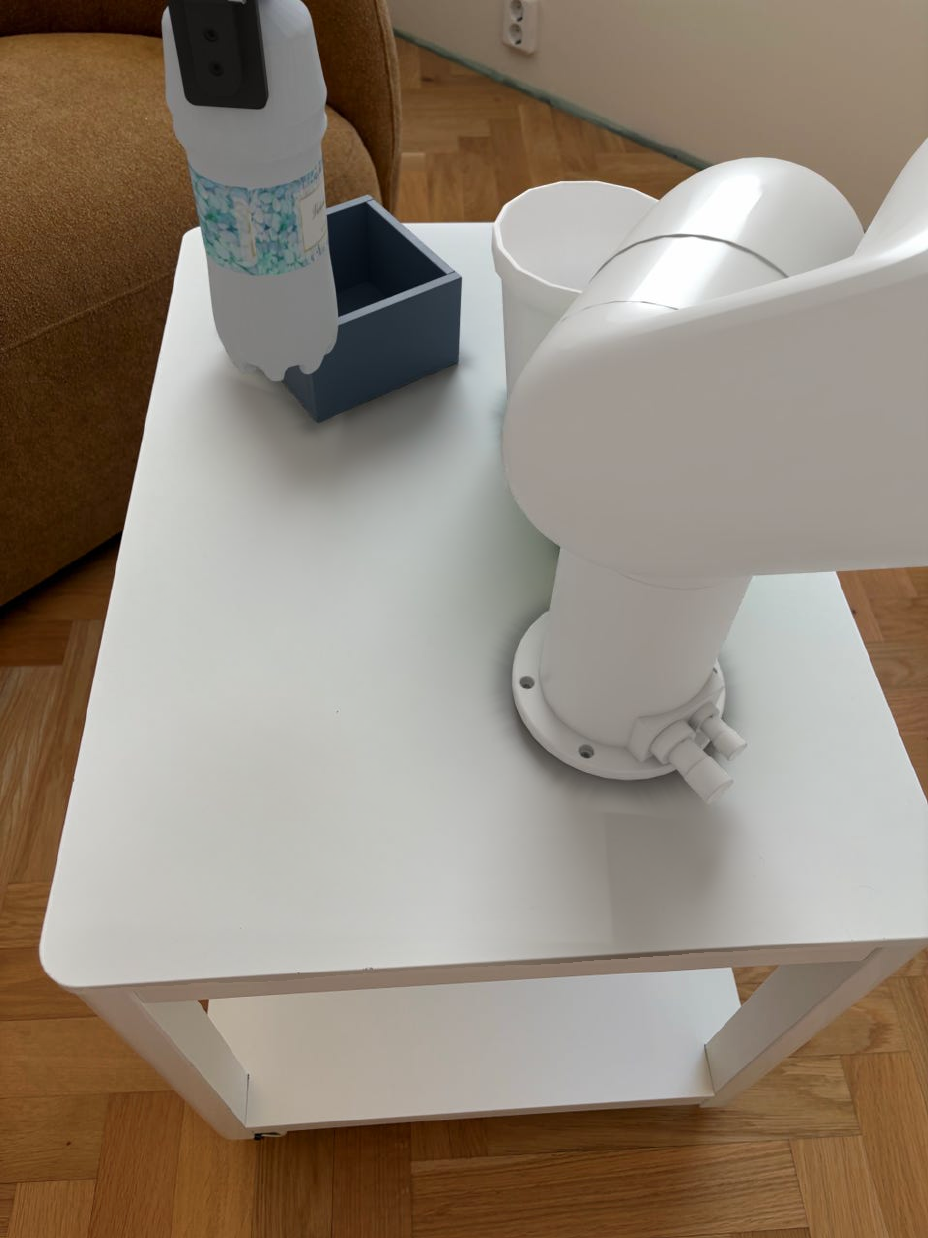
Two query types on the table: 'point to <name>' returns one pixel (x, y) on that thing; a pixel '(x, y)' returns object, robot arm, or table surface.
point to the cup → (555, 255)
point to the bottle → (264, 201)
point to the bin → (380, 312)
